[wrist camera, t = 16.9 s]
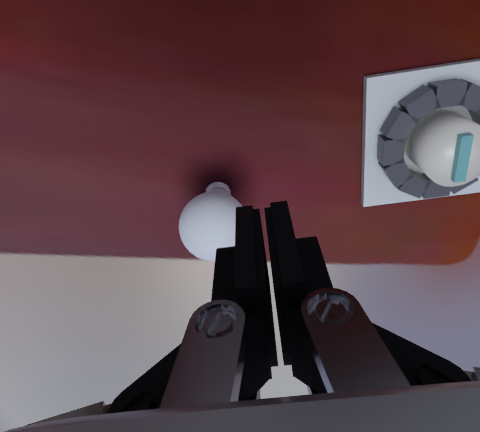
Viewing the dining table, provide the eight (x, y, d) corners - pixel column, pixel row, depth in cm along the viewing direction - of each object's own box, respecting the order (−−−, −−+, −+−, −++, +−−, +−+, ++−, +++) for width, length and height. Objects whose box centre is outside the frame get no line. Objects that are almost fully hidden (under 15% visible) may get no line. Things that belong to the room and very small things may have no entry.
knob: (406, 113, 36) (433, 131, 31) (469, 104, 36) (506, 121, 31) (401, 169, 39) (425, 193, 34) (460, 161, 39) (491, 185, 34)
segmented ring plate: (363, 76, 35) (373, 82, 33) (515, 52, 34) (538, 57, 32) (360, 202, 42) (368, 215, 40) (486, 186, 41) (503, 199, 39)
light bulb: (252, 167, 40) (255, 219, 31) (242, 218, 43) (243, 280, 34) (191, 158, 40) (176, 208, 30) (186, 211, 43) (171, 271, 33)
